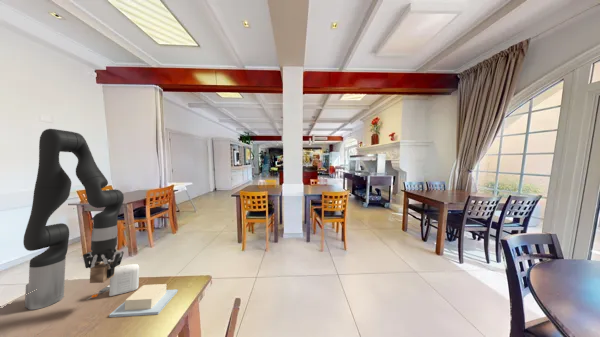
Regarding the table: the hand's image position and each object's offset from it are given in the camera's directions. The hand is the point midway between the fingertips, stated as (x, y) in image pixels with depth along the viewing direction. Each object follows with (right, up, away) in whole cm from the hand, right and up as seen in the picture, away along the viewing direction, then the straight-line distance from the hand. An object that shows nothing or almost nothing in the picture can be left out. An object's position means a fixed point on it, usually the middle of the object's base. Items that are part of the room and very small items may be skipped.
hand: (102, 276), depth 77 cm
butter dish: (+17, -13, +2) cm, 21 cm away
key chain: (-10, -13, +8) cm, 19 cm away
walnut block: (0, -1, 0) cm, 1 cm away
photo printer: (0, -13, +10) cm, 16 cm away
